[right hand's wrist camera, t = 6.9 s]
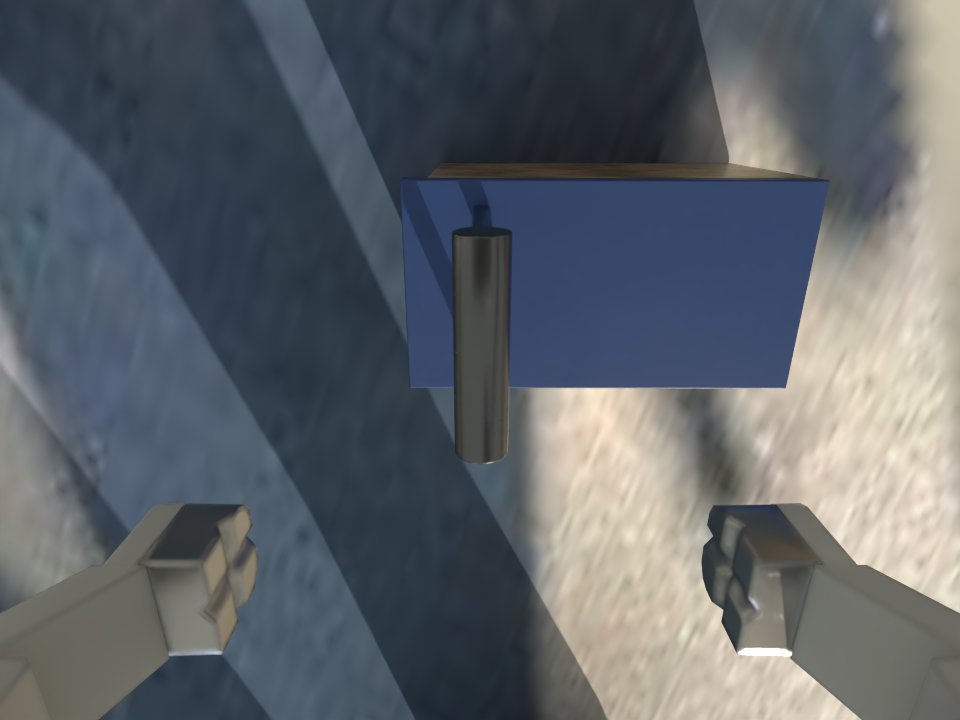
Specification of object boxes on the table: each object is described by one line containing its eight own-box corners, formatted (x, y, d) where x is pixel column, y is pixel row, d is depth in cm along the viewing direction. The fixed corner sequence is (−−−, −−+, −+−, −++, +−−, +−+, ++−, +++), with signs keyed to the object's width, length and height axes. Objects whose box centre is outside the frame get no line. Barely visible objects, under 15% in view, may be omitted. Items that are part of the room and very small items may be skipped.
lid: (411, 379, 28) (382, 486, 20) (402, 177, 25) (363, 205, 17) (776, 380, 28) (897, 487, 20) (817, 178, 25) (985, 207, 17)
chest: (443, 319, 37) (432, 378, 28) (440, 162, 33) (426, 177, 25) (707, 319, 37) (775, 380, 28) (731, 163, 33) (817, 178, 25)
